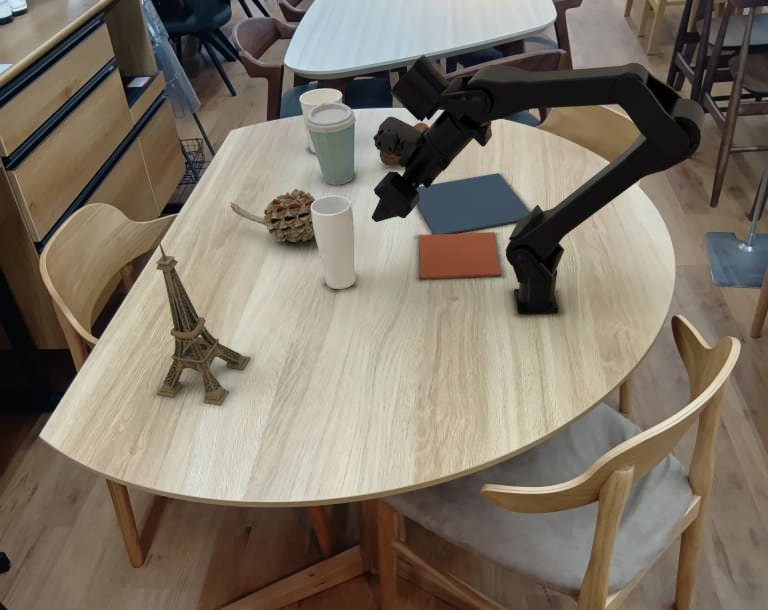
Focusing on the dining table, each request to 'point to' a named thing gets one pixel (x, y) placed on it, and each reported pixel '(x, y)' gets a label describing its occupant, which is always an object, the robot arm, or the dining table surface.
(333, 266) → the tall white cup
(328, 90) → the cream paper cup
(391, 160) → the bread
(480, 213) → the mat
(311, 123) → the disposable coffee cup
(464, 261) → the terracotta mat
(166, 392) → the eiffel tower
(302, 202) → the pine cone
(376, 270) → the dining table surface
